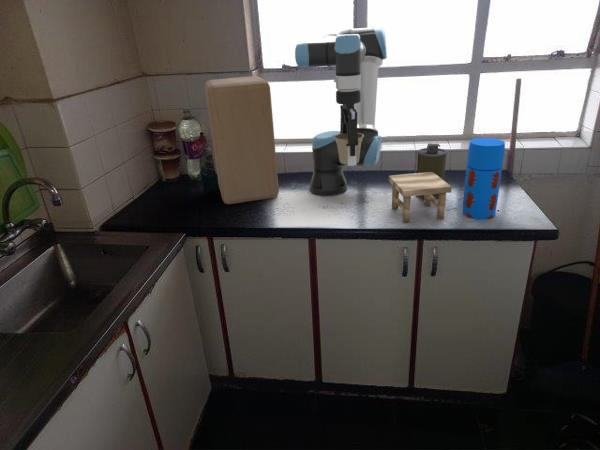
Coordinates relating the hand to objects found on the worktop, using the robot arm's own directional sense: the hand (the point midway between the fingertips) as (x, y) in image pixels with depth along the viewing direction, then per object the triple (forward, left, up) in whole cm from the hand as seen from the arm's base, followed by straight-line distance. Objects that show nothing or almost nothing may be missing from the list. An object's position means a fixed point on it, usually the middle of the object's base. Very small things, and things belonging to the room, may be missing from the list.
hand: (349, 161), depth 143 cm
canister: (-15, +34, -21) cm, 43 cm away
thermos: (+5, +44, -21) cm, 49 cm away
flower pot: (0, 0, -1) cm, 1 cm away
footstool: (0, +24, -21) cm, 32 cm away
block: (-36, -35, -21) cm, 55 cm away
